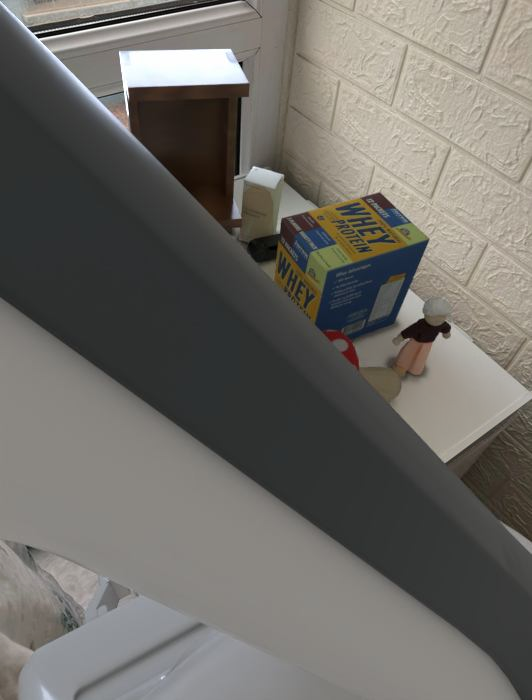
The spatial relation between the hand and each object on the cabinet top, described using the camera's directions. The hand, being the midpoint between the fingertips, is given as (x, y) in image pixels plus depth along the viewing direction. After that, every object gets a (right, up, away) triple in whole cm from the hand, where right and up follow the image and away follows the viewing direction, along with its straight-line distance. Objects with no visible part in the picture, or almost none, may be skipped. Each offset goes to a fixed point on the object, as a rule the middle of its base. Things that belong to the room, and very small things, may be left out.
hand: (177, 538), depth 35 cm
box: (+5, +32, +47) cm, 57 cm away
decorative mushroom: (+15, +8, +29) cm, 33 cm away
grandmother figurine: (+25, +11, +32) cm, 43 cm away
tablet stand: (+12, +29, +46) cm, 56 cm away
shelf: (-6, +31, +45) cm, 55 cm away
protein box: (+16, +18, +37) cm, 44 cm away
